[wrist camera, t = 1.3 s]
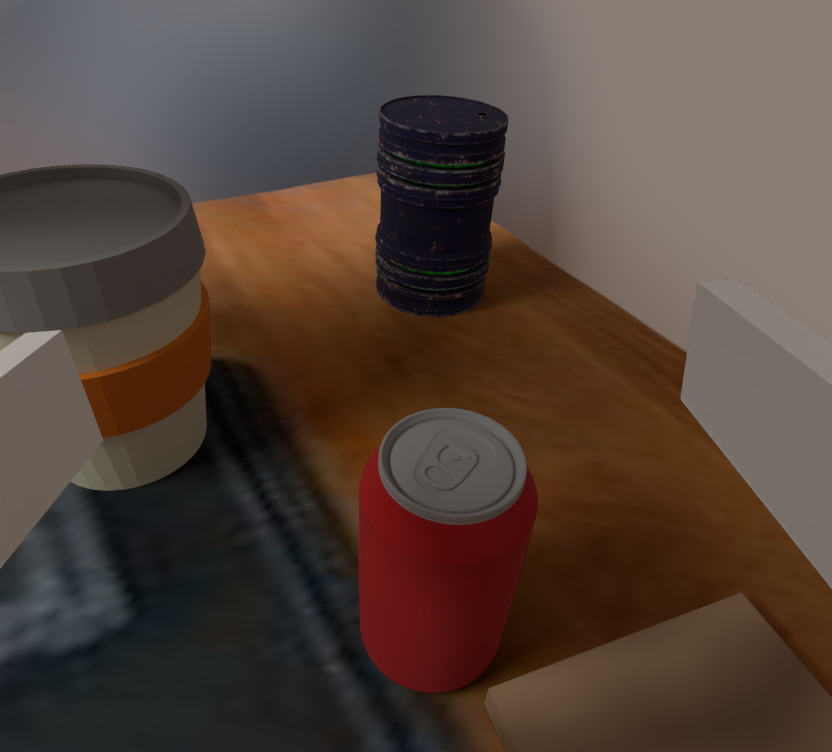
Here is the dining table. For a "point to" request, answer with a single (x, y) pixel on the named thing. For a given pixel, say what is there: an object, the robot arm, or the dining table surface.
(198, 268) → the reusable coffee cup
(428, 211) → the dark blue cylinder
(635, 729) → the drinks board
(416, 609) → the beverage can
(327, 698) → the dining table surface
